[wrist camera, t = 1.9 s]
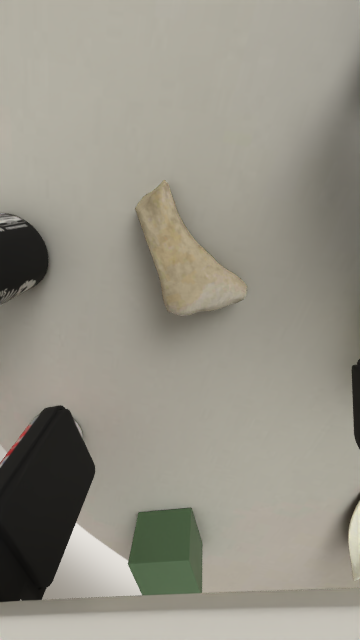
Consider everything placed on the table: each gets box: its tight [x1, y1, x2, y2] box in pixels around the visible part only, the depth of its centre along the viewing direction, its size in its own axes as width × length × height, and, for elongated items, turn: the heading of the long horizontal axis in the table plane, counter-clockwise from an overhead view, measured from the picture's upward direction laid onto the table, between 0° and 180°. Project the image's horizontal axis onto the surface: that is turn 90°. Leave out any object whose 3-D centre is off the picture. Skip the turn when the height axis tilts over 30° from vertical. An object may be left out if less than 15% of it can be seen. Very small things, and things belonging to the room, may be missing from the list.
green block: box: [128, 508, 202, 595], centre depth 38 cm, size 7×7×6 cm
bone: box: [135, 180, 247, 316], centre depth 24 cm, size 11×6×5 cm, turn 40°
